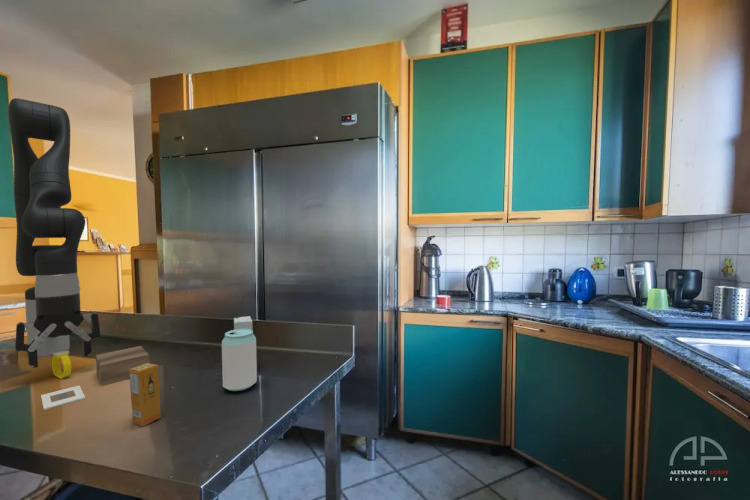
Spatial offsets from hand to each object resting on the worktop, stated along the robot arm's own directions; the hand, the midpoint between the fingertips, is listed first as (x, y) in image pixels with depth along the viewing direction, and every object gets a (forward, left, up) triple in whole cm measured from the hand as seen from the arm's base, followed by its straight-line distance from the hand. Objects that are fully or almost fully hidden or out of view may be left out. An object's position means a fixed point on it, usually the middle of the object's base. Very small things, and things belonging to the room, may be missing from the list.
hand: (61, 361), depth 77 cm
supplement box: (+37, +8, -4) cm, 38 cm away
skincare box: (+26, +32, -4) cm, 41 cm away
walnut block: (+9, +10, -4) cm, 14 cm away
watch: (0, 0, -4) cm, 4 cm away
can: (+36, +26, -4) cm, 44 cm away
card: (+14, -1, -4) cm, 14 cm away
